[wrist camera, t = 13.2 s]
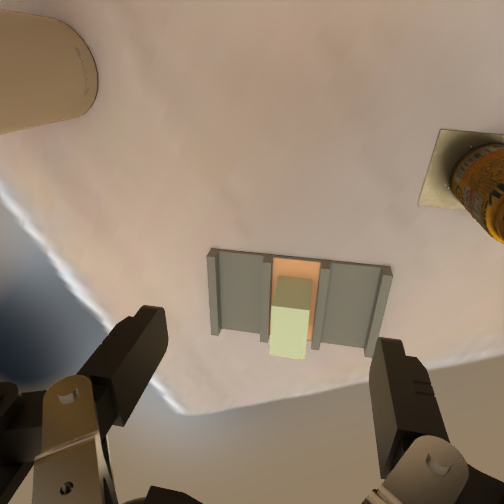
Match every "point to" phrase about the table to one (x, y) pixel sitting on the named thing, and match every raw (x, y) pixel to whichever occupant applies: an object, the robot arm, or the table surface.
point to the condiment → (468, 177)
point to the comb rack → (322, 296)
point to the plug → (290, 317)
